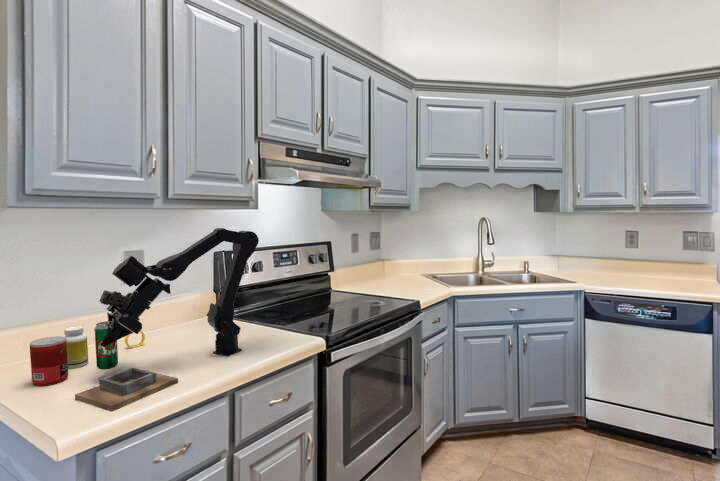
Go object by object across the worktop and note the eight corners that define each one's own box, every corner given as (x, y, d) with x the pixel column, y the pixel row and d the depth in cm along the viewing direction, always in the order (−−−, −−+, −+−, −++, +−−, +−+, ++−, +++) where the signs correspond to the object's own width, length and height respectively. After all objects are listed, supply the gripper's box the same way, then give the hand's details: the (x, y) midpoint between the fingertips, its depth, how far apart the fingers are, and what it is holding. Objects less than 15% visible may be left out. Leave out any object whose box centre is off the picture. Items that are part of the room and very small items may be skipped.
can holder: (142, 373, 121) (142, 360, 121) (178, 382, 115) (177, 368, 114) (75, 399, 105) (74, 384, 105) (112, 411, 99) (111, 395, 98)
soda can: (113, 362, 122) (111, 319, 121) (121, 366, 119) (119, 322, 118) (93, 367, 118) (91, 323, 117) (101, 371, 115) (98, 326, 114)
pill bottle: (92, 363, 129) (90, 326, 129) (70, 370, 124) (68, 332, 123) (81, 360, 133) (79, 324, 132) (59, 366, 127) (56, 329, 126)
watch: (128, 350, 142) (126, 333, 141) (124, 349, 144) (122, 331, 143) (146, 344, 147) (144, 327, 146) (142, 343, 149) (140, 326, 148)
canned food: (69, 381, 116) (66, 341, 115) (31, 389, 111) (28, 346, 110) (68, 373, 122) (65, 334, 121) (32, 379, 118) (29, 339, 117)
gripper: (113, 275, 126) (70, 319, 120) (125, 283, 111) (77, 334, 106) (144, 298, 132) (104, 341, 126) (160, 309, 117) (116, 358, 111)
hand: (100, 343), depth 117 cm, fingers closed on soda can, 5 cm apart
